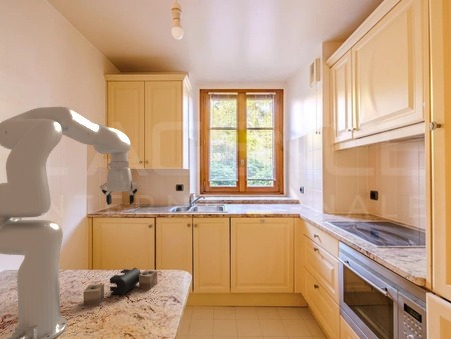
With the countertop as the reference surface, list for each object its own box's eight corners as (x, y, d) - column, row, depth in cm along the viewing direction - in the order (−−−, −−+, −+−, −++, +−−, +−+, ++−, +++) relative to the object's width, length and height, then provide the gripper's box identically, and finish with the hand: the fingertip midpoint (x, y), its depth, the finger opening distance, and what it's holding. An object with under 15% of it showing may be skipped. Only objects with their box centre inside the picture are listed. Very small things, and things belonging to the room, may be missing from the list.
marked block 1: (99, 305, 86) (99, 289, 86) (83, 306, 85) (83, 291, 85) (104, 297, 91) (103, 283, 91) (89, 299, 90) (88, 284, 90)
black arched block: (126, 297, 90) (125, 278, 90) (109, 295, 92) (108, 277, 92) (142, 285, 100) (141, 268, 100) (126, 283, 102) (126, 266, 102)
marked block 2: (150, 289, 96) (150, 275, 96) (139, 288, 98) (138, 274, 98) (157, 283, 101) (157, 270, 101) (146, 282, 102) (146, 269, 102)
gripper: (96, 166, 110) (96, 205, 110) (137, 165, 111) (137, 204, 111) (103, 166, 117) (104, 203, 117) (141, 165, 118) (142, 202, 118)
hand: (120, 204), depth 114 cm, fingers open, 9 cm apart
